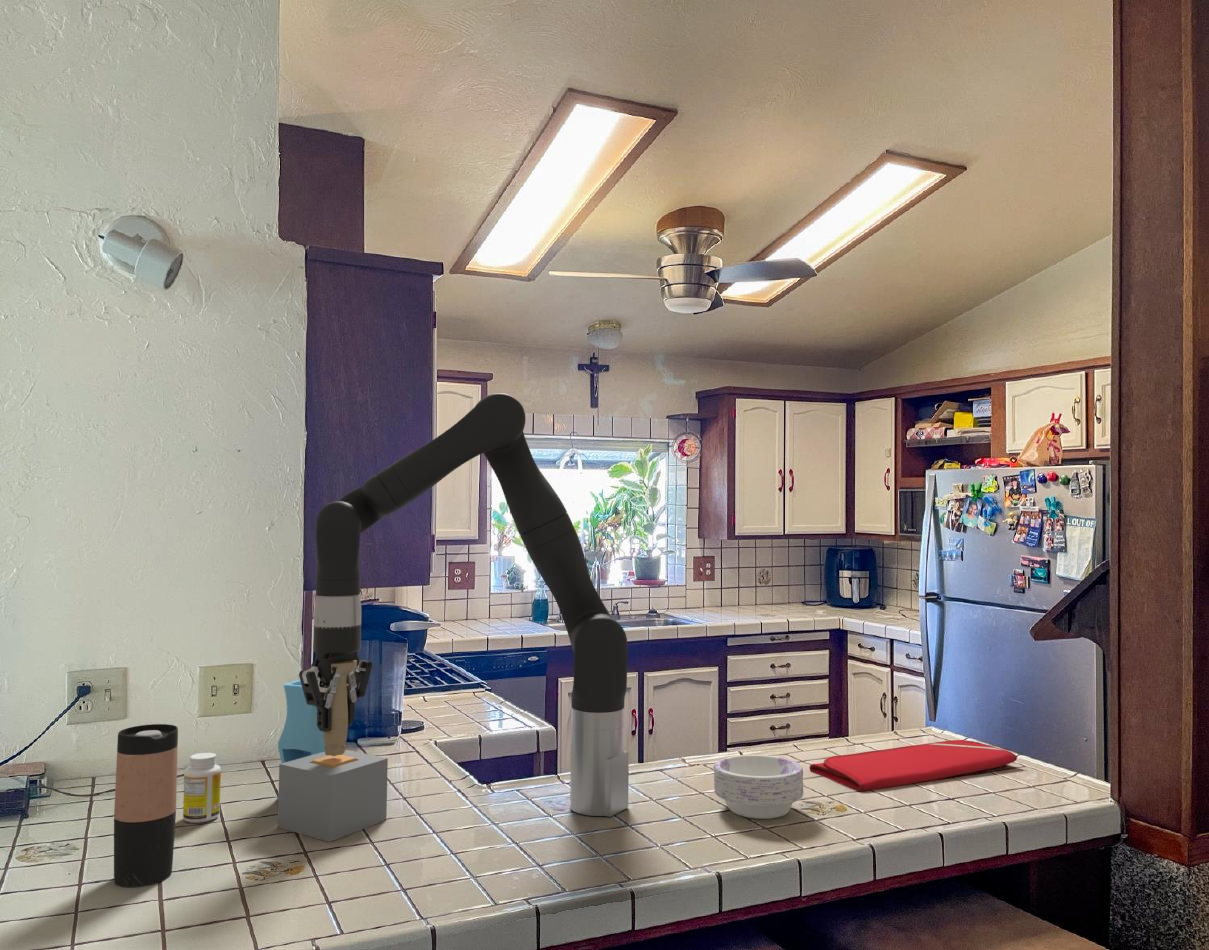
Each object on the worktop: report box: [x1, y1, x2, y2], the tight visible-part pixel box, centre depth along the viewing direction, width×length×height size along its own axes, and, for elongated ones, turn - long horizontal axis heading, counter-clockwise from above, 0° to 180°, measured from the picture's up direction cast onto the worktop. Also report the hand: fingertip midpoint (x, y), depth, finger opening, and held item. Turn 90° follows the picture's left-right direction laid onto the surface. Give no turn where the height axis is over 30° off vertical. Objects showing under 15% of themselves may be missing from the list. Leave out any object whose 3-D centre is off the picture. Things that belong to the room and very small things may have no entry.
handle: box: [323, 660, 357, 756], centre depth 146 cm, size 5×6×15 cm
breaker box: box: [277, 749, 389, 842], centre depth 145 cm, size 12×12×10 cm
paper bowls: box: [713, 754, 804, 820], centre depth 153 cm, size 15×15×8 cm
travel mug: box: [113, 723, 179, 888], centre depth 123 cm, size 8×8×20 cm
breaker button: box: [313, 755, 356, 768], centre depth 145 cm, size 5×5×4 cm
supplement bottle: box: [182, 752, 222, 824], centre depth 147 cm, size 6×6×10 cm
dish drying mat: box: [809, 739, 1018, 792], centre depth 180 cm, size 16×41×4 cm, turn 115°
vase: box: [276, 679, 326, 800], centre depth 160 cm, size 8×8×20 cm
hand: (335, 727), depth 145 cm, fingers closed on handle, 4 cm apart
